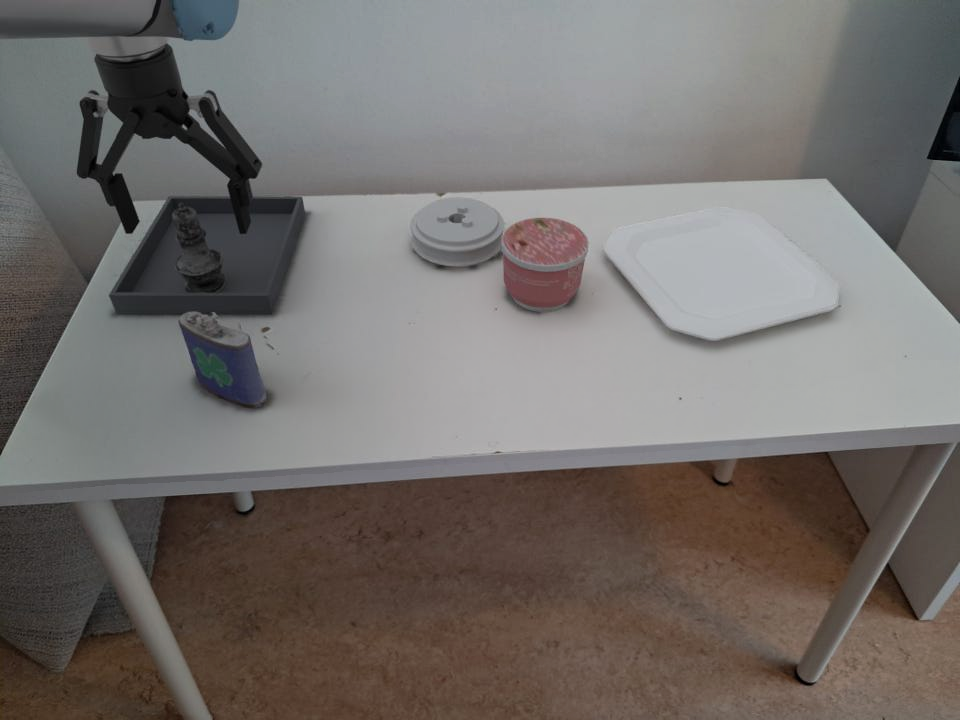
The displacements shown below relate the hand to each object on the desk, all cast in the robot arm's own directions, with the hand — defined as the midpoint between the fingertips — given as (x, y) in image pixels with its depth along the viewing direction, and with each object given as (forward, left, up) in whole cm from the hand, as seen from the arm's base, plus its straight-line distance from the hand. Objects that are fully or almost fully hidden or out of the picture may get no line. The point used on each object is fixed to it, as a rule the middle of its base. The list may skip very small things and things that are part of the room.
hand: (189, 228), depth 88 cm
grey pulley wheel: (+32, -10, -9) cm, 35 cm away
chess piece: (0, 0, -9) cm, 9 cm away
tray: (+3, +5, -9) cm, 11 cm away
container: (+35, -25, -9) cm, 44 cm away
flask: (-4, -20, -9) cm, 22 cm away
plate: (+56, -35, -9) cm, 67 cm away
